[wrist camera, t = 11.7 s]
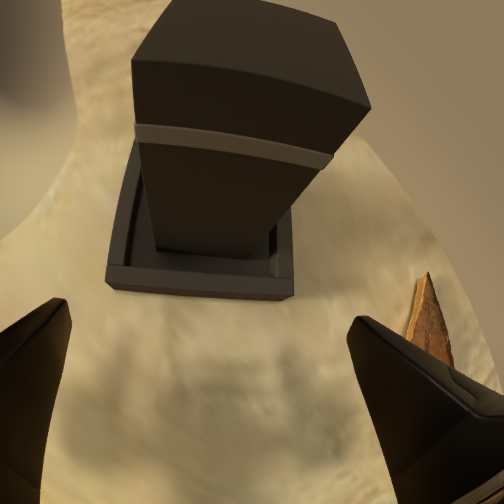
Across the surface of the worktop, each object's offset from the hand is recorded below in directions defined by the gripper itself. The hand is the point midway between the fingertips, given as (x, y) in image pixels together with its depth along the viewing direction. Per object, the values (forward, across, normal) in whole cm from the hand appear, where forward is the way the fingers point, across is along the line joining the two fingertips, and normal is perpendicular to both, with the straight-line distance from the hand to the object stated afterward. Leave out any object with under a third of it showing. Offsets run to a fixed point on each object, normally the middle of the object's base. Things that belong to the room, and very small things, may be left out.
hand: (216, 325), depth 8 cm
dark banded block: (+11, 0, +1) cm, 11 cm away
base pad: (+11, 0, +1) cm, 11 cm away
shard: (+5, -16, +8) cm, 19 cm away
